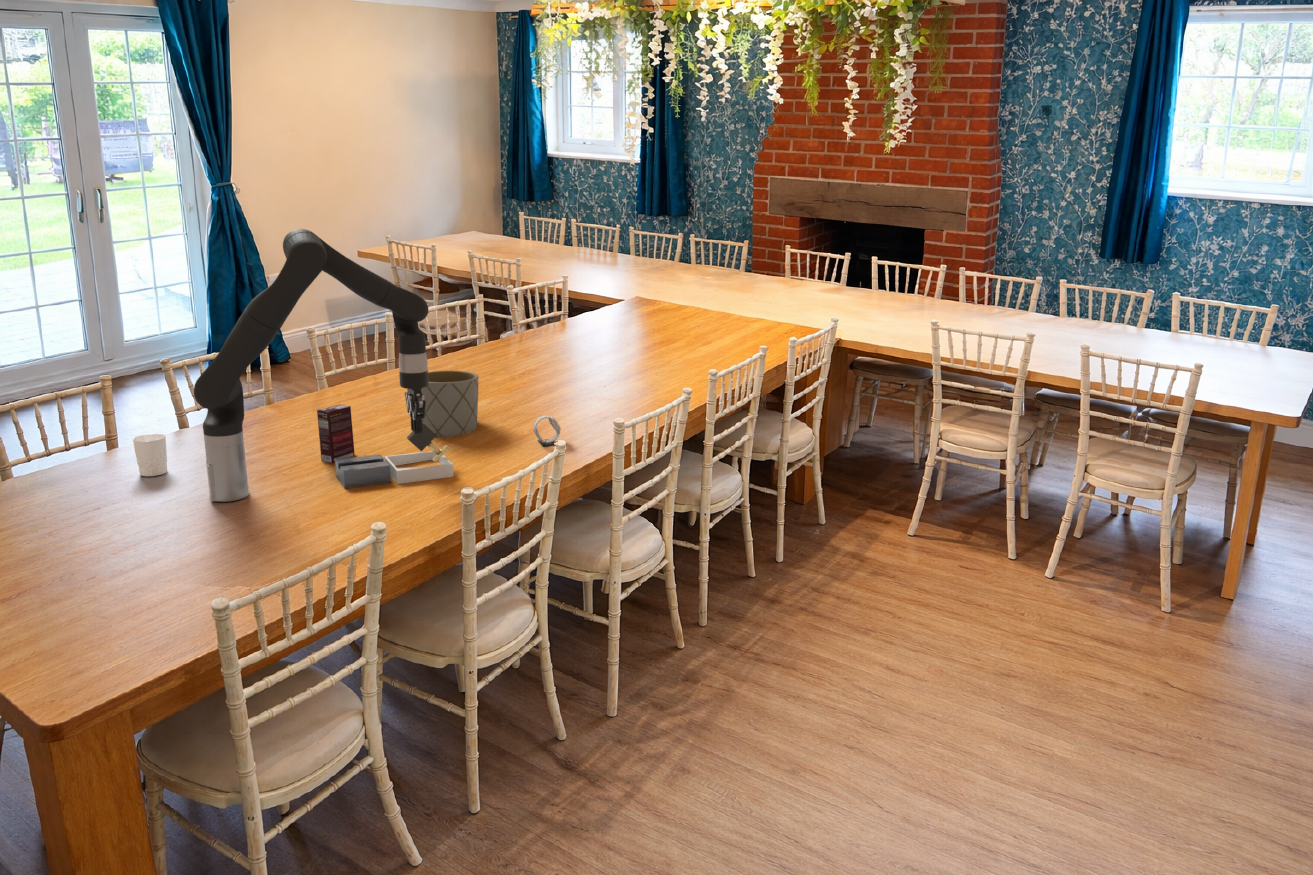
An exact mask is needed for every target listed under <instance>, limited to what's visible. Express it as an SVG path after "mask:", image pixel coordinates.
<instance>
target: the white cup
mask: <svg viewBox="0 0 1313 875" xmlns="http://www.w3.org/2000/svg"><path fill="white" fill-rule="evenodd" d="M166 438H167V437H166V435H165V434H163V433H147V434H142V435H138V436H134V437H133V438H132V443H133V447H134V453H135V458H136V463H137V466H138V472H139V475H140V476H142V477H154V476H161V475H164V474H166V473H167V472H168V464H167V463H168V455H167V440H166Z"/></svg>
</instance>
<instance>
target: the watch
mask: <svg viewBox="0 0 1313 875" xmlns="http://www.w3.org/2000/svg"><path fill="white" fill-rule="evenodd" d="M545 419H548V422H549V424H550V425H551V427H552V428H553V430H554V431H555V432H556V433H555V434H554V436H553V437H552V438H550V439H548V438H547V439H543V438H542V437H541V435H540V433H539V430H538V424H539V423H540V422H541V421H542V420H545ZM561 429H562V428H561V426H560V424H559V423H558V421H557V420H556V418H555V417H554V416H553V415H551V416H550V415H547V414H546V415H540V416H538V417H537V418H536V419H535V421H534V423H533V432H534V435H535V436H536V438H537V442H538V443H539V444H540V446H541V447H542V448H545V447H553V446H555V445H554V442H556V440H557V439H558V438H559V437H560V434H561Z"/></svg>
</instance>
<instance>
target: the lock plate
mask: <svg viewBox="0 0 1313 875" xmlns="http://www.w3.org/2000/svg"><path fill="white" fill-rule="evenodd" d="M334 465H335V474H336V475H335V476H336V478H337V479H338V481H339V483H340V484H341V486H342V487H343V489H353V488H361V487H368V486H376V485H377V486H378V485H385V484H392V481H391V480H392V477H391V475H390V465H389V464H388V463H387V462H386V461H384V456H382V455H381V454H371V455H362V456H353V457H352V456H351V457H348V458H343V459H335V463H334Z"/></svg>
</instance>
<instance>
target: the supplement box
mask: <svg viewBox="0 0 1313 875" xmlns="http://www.w3.org/2000/svg"><path fill="white" fill-rule="evenodd" d="M351 408H352V406H351V405H346V404H340V403H339V404H337V405H331V406H328V407H323V408H320V409H317V410H316V413H317V414H316V415H317V423H318V424H317V426H318V427H317V428H318V436H319V450H320V459H321V462H324V463H327V464H328V463H329V464H332V465H335V459H343V458H351V457H352V456H353V457H354V456H355V455H354V454H355V445H354V443H355V442H354V432H353V431H354V430H353V421H352V419H353V418H352V409H351Z"/></svg>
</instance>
